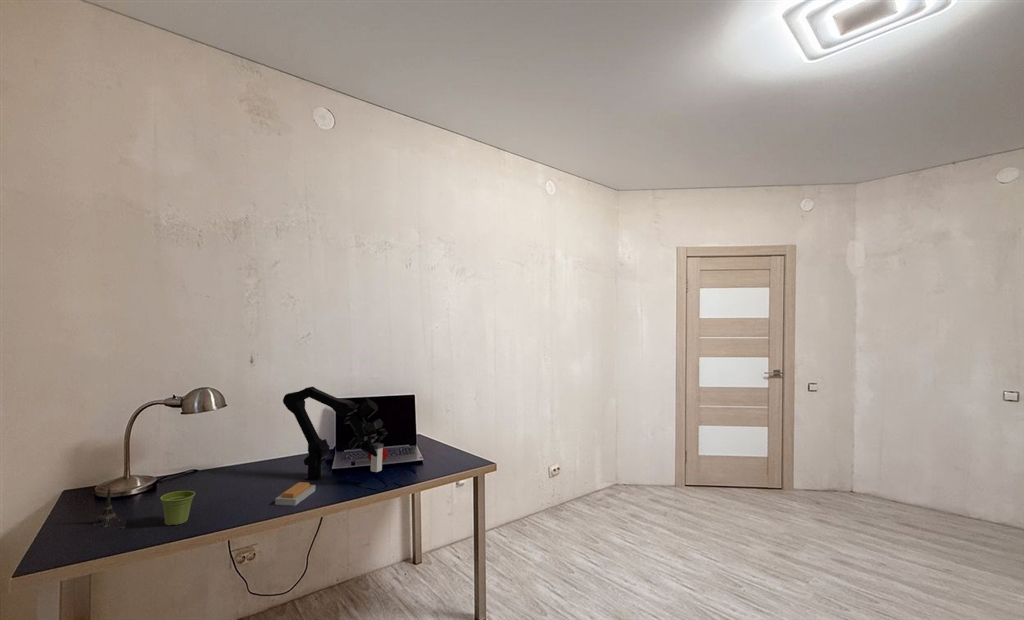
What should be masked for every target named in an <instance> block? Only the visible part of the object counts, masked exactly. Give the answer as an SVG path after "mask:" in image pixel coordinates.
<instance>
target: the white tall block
mask: <svg viewBox="0 0 1024 620" xmlns="http://www.w3.org/2000/svg"><path fill="white" fill-rule="evenodd" d="M371 444H372V443H371ZM384 445H385V444H384V443H382V442H381V443H374V444H372V446H373V447H374V449H375V451H376V453H377V456H376V457H375V456H373V455H371V461H370V472H373V473H374V472H375V473H378V472H381V471H382V470H383V462H382V453H383V447H384Z"/></svg>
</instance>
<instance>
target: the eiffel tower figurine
mask: <svg viewBox="0 0 1024 620" xmlns="http://www.w3.org/2000/svg"><path fill="white" fill-rule="evenodd" d="M111 488H112V487H111V485H110V483H109V485H108V486H107V495H106V501H105V505H104V507H103V511H102V513H101V514H99V516H98V517H99V518H97V519H96V521H95V522H94V523H93V524H92V525H94V526H93V527H99V526H101V527H100V528H107V526H108V521H109V519H111V518H112V517H113V518H115V519H116V520H117V521H120V519H119V518H118V517H117V516H116V515H117V514H116V512H114V509H113V505H112V500H111V495H112V494H111ZM101 520H103V521H104V525H98V526H97V524H98V523H99V522H101ZM110 526H111V525H109V526H108V527H110ZM121 528H122V529H125V528H126V526H124V527H121Z"/></svg>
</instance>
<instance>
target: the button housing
mask: <svg viewBox="0 0 1024 620" xmlns="http://www.w3.org/2000/svg"><path fill="white" fill-rule="evenodd" d="M316 487H317V486H316V484H309V488H308V489H306V490H305V491H303V492H302V493H301V494H299V495H298V496H296V497H295V498H282V493H281V494H279V496H277V497H276V498H274V505H275V506H293V507H294V506H296V505H298V504H299V503H300V502H302V501H303V500H305V499H306V498H308V497H309V496H311V494H313V493H315V491H316Z"/></svg>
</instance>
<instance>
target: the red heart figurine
mask: <svg viewBox="0 0 1024 620" xmlns="http://www.w3.org/2000/svg"><path fill="white" fill-rule="evenodd" d="M387 457H388V450H387V448H385V447H384V446H383V454H382V463H383V462H385V461H386V459H387ZM367 458H368V460H369V461H370V462H371V454H369V453H367Z"/></svg>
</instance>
